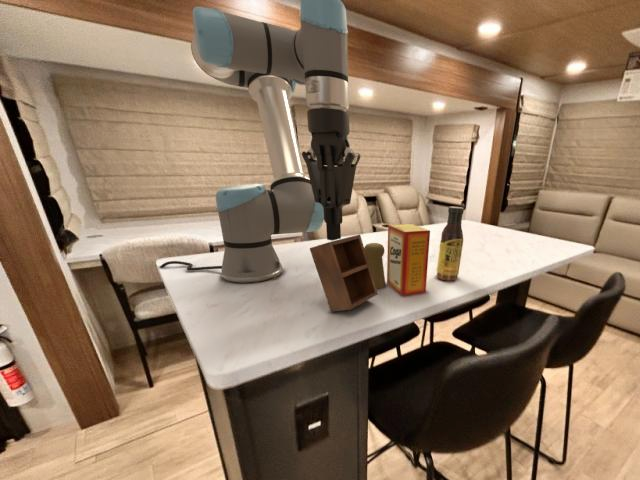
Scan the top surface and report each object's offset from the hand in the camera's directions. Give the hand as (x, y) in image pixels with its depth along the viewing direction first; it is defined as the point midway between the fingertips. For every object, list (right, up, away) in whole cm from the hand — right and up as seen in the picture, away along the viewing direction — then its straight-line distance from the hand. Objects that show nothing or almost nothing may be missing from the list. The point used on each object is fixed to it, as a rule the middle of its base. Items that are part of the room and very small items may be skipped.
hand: (334, 238), depth 65 cm
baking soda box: (+16, -10, +16) cm, 24 cm away
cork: (+7, -9, +17) cm, 20 cm away
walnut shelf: (0, -7, +3) cm, 8 cm away
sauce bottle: (+28, -7, +24) cm, 37 cm away
